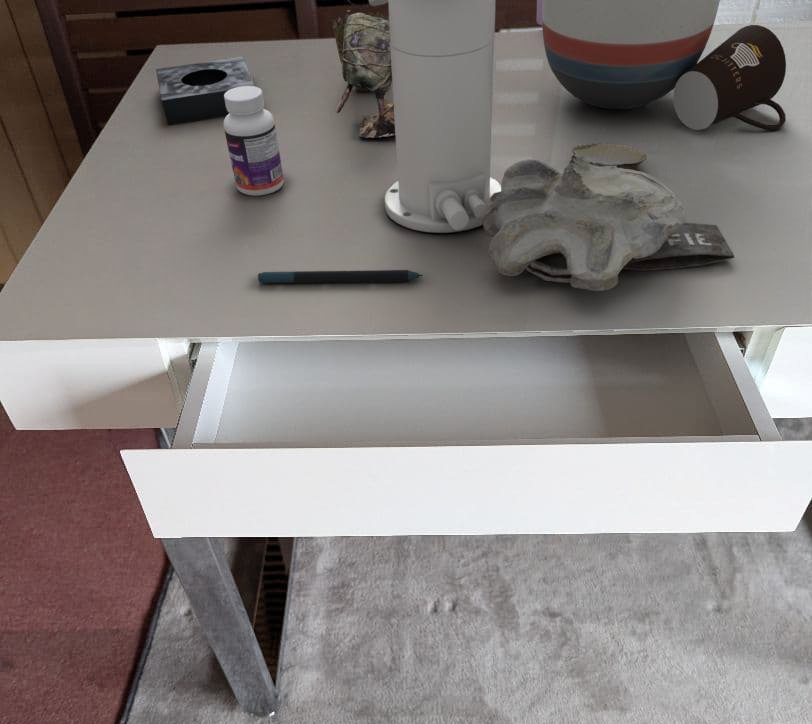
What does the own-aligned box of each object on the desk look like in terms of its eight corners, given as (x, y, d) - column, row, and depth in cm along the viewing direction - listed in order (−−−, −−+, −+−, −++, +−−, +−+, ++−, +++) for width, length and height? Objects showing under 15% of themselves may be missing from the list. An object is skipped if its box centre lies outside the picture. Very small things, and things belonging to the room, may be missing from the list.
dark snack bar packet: (737, 272, 73) (742, 252, 71) (528, 290, 73) (529, 271, 72) (712, 229, 78) (717, 209, 76) (516, 246, 78) (517, 226, 77)
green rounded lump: (397, 77, 110) (393, 10, 104) (391, 98, 105) (387, 28, 99) (343, 78, 111) (337, 12, 105) (335, 99, 106) (328, 30, 100)
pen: (423, 279, 75) (423, 268, 75) (422, 282, 74) (422, 271, 74) (260, 281, 76) (259, 270, 76) (258, 284, 76) (256, 273, 75)
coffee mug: (671, 50, 90) (731, 15, 93) (661, 125, 97) (717, 90, 100) (756, 83, 84) (818, 45, 87) (739, 160, 91) (796, 123, 94)
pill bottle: (230, 182, 91) (210, 89, 83) (275, 171, 92) (259, 79, 85) (245, 201, 87) (225, 106, 80) (291, 189, 89) (275, 95, 81)
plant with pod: (353, 112, 102) (335, -81, 87) (438, 118, 100) (433, -80, 85) (330, 138, 97) (306, -62, 82) (418, 145, 95) (410, -61, 80)
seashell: (645, 180, 90) (587, 147, 92) (658, 153, 87) (598, 120, 89) (613, 197, 84) (552, 161, 87) (626, 169, 82) (563, 133, 84)
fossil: (709, 170, 72) (652, 145, 61) (683, 296, 76) (625, 296, 65) (537, 164, 82) (459, 141, 70) (521, 277, 85) (445, 274, 74)
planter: (625, 148, 91) (660, -86, 75) (501, 101, 102) (508, -112, 86) (734, 97, 99) (787, -125, 83) (607, 59, 110) (633, -144, 94)
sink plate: (259, 110, 104) (255, 85, 102) (167, 125, 103) (161, 100, 101) (247, 79, 112) (243, 56, 110) (162, 92, 111) (155, 68, 108)
